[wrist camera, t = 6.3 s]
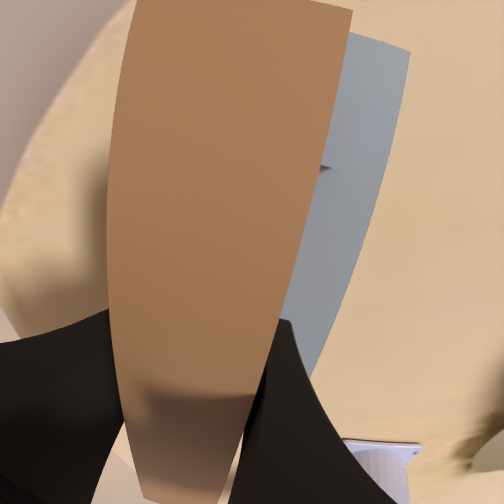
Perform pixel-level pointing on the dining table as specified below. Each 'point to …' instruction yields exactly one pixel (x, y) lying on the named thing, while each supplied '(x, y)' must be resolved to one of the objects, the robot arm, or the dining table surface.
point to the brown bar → (209, 217)
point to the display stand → (345, 189)
